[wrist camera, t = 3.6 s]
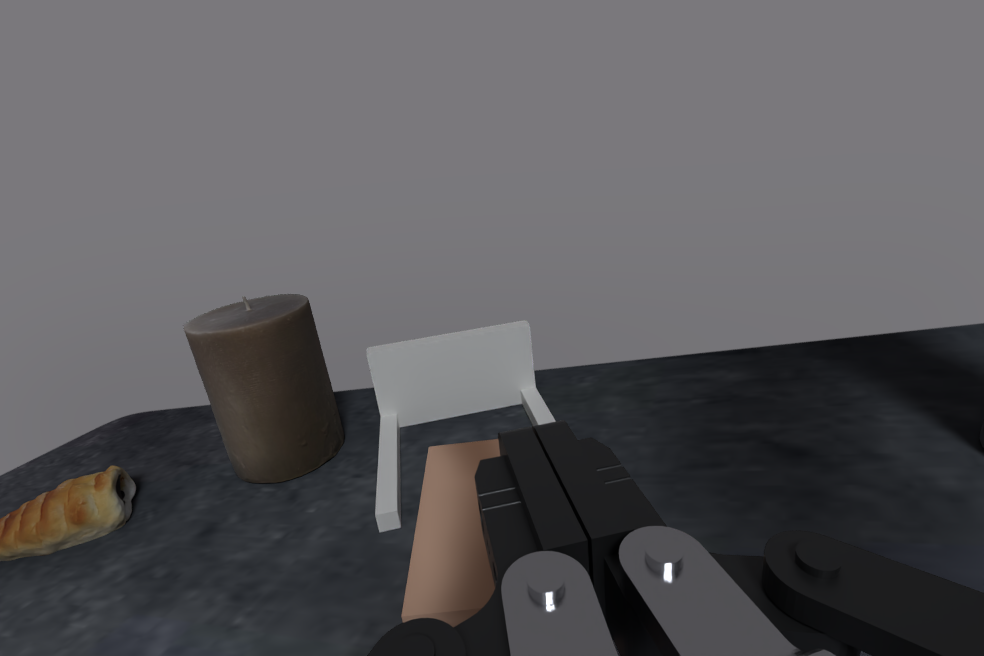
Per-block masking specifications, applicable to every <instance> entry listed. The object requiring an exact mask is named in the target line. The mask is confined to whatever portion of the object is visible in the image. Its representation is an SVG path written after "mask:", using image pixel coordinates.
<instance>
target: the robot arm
mask: <svg viewBox="0 0 984 656" xmlns="http://www.w3.org/2000/svg"><path fill="white" fill-rule="evenodd" d="M979 440H980V442H981V444H982V447H983V448H984V421H983V425H982V428H981V432H980V438H979ZM498 441H499V450H500V456H498V457H493V458H488V459H483V460H480V462H479V465H478V468H477V470H476V473H475V476H474V478H475V485H476V492H477V499H478V505H479V512H480V519H481V526H482V533H483V537H484V542H485V546H486V550H487V554H488V559H489V563H490V568H491V572H492V576H493V581H494V585H495V590H494V592H493V594H492V596H491V598H490V599H489V601H488V602H487V603H486V604H485V606H484V607H483V608H482V609H481V610H479V611H478V612H477V613H476V614H474V615H473V616H471V617H470V618H468V619H467V620H465V621H463V622H462V623H460V624H458V625H457V626H455V627H452V626H451V625H450V624H448V623H446V622H444V621H442V620H438V619H434V618H417V619H412V620H409V621H406V622H403V623H402V624H400V625H398V626H396V627H394V628H393V629H391V630H390V631H388V632H387V633H386V634H385V635H384V636H383V637H382V638H381V639H380V640H379V641H378V642H377V644H376V645H375V646H374V647H373V649H372V650H371V651H370V653H369V654H368V655H367V656H618V654H617V651H616V649H615V646H614V643H613V640H614V642H615V644H616V646H617V648H618V651H619V653H620V655H621V656H860V652H861V651H863V652H865V653H867V654H870V655H872V656H984V593H982V592H980V591H977V590H974V589H971V588H969V587H966V586H963V585H960V584H957V583H955V582H952V581H949V580H946V579H944V578H941V577H938V576H935V575H932V574H930V573H927V572H924V571H921V570H919V569H916V568H913V567H910V566H908V565H905V564H902V563H899V562H896V561H894V560H891V559H888V558H885V557H883V556H880V555H877V554H874V553H872V552H869V551H866V550H863V549H860V548H858V547H855V546H852V545H849V544H847V543H844V542H841V541H838V540H835V539H833V538H830V537H827V536H824V535H821V534H818V533H813V532H808V531H785V532H782V533H778V534H776V535H774V536H773V537H772V538H770V539H769V540H768V542H767V544H766V546H765V551H764V557H763V556H739V555H722V554H715V553H710V552H707V550H706V549H705V548H704V547H703V546H702V545H701V544H700V543H699V542H698V541H697V540H695V539H694V538H693V537H691V536H690V535H688V534H686V533H684V532H682V531H679V530H677V529H674V528H670V527H667V526H666V524H665V523H664V522H663V520H662V519H661V518H660V516H659V515H658V513H657V512H656V511H655V509H654V508H653V507H652V505H651V504H650V503H649V501H648V500H647V498H646V497H645V496H644V494H643V493H642V492H641V490H640V489H639V487H638V486H637V485H636V483H635V482H634V481H633V479H631V478H630V475H629V474H628V472H627V471H626V470H625V468H624V467H622V466H621V463H620V461H619V460H618V459H617V457H616V456H615V455H614V453H613V452H612V451H611V449H610V448H608V447H607V446H605V445H603V444H602V443H600V442H598V441H597V440H595V439H593V438H587V439H582V440H577V439H576V437H575V435H574V434H573V432H572V431H571V429H570V428H569V426H568V424H567V423H566V422H565V421H564V420H561V421H556V422H551V423H546V424H541V425H536V426H532V428H531V427H526V428H521V429H516V430H511V431H506V432H501V433H498Z"/></svg>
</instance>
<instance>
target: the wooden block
mask: <svg viewBox="0 0 984 656" xmlns="http://www.w3.org/2000/svg"><path fill="white" fill-rule="evenodd" d="M498 456H500V450H499V441H498V439H495V440H486V441H477V442H468V443H459V444H450V445H441V446H433V447H429V450H428V456H427V462H426V469H425V475H424V481H423V487H422V493H421V499H420V506H419V512H418V518H417V524H416V530H415V536H414V543H413V549H412V555H411V561H410V567H409V574H408V580H407V586H406V592H405V598H404V604H403V611H402V620H403V622H406V621H409V620H412V619H417V618H434V619H438V620H442V621H444V622H446V623H448V624H450V625H451V626H452V627H455V626H457V625H458V624H460V623H462V622H463V621H465V620H467V619H468V618H470V617H471V616H473V615H474V614H476V613H477V612H478V611H479V610H481V609H482V608H483V607H484V606H485V604H486V603H487V602H488V601H489V599H490V598H491V596H492V594H493V592H494V590H495V585H494V581H493V576H492V572H491V568H490V563H489V559H488V554H487V550H486V546H485V542H484V537H483V533H482V526H481V519H480V512H479V505H478V499H477V492H476V485H475V478H474V476H475V473H476V470H477V468H478V465H479V462H480V460H483V459H488V458H493V457H498Z"/></svg>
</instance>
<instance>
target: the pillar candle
mask: <svg viewBox="0 0 984 656" xmlns="http://www.w3.org/2000/svg"><path fill="white" fill-rule="evenodd" d="M242 298H243V300H244V301H243V302H239V303H235V304H230V305H227V306H224V307H221V308H217V309H215V310H212V311H210V312H208V313H204V314H202V315H200V316H198V317H196V318H194V319H193V320H191V321H189V322H187V323H185V324H184V325H183V326H184V330H185V333H186V336H187V339H188V341H189V345H190V347H191V350H192V353H193V356H194V358H195V362H196V365H197V368H198V370H199V374H200V376H201V378H202V381H203V384H204V387H205V389H206V392H207V395H208V398H209V401H210V404H211V407H212V410H213V413H214V416H215V419H216V422H217V425H218V428H219V430H220V432H221V435H222V438H223V442H224V445H225V447H226V450H227V454H228V456H229V459H230V461H231V463H232V465H233V468H234V470H235V473H236V474H237V476H238V477H239V478H241V479H242V480H244V481H246V482H251V483H277V482H283V481H285V480H291V479H293V478H296V477H300V476H302V475H304V474H306V473H308V472H310V471H312V470H314V469H316V468H318V467H320V465H322V464H324V463H325V462H326V461H328V460H330V459H331V458H332V457H334V456H335V455H336V453H337V452H338V451H339V450H340V448H341V446H342V444H343V442H344V431H343V427H342V425H341V420H340V416H339V412H338V408H337V404H336V401H335V397H334V394H333V390H332V386H331V382H330V379H329V375H328V372H327V368H326V364H325V360H324V357H323V353H322V349H321V345H320V341H319V337H318V334H317V330H316V326H315V322H314V318H313V315H312V311H311V307H310V303H309V300H308V298H307V297H305V296H303V295H297V294H284V295H283V294H281V295H274V296H265V297H261V298H254V299H250V300H246V297H242Z"/></svg>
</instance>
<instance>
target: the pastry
mask: <svg viewBox="0 0 984 656" xmlns="http://www.w3.org/2000/svg"><path fill="white" fill-rule="evenodd" d="M135 491H136V485H135V483H134V481H133V480H132V479H131V478H130V476H129V475H128V474H127V473H126V472H125V471H124V470H123V469H122V468H120V467H117V466H110V467H109V468H108V469H107V471H105V472H99V473H96V474H92V475H87V476H82V477H79V478H77V479H69V480H67V481H65V482H63V483H62V484H60V485H59V486H58V487H57V488H56V489H55V490H53V491H49V492H46V493H43V494H41V495H39V496H38V497H37V498H36V499H34V500H32V501H28V502H26V503H24V504H23V505H22V506H21V507H20V508H19V509H18V510H15V511H13V512H11V513H9V514H8V515H7V516H5V517H3V518H1V519H0V561H10V560H14V559H17V558H21V557H31V556H43V555H49V554H52V553H54V552H55V551H58V550H61V549H65V548H68V547H71V546H74V545H77V544H80V543H84V542H87V541H90V540H93V539H95V538H98V537H101V536H104V535H106V534H108V533H110V532H113V531H115V530H117V529H119V528H120V527H122V526H123V525H124V524H125V523H126V521H127V520H128V519H129V518H130V515H131V512H132V509H131V508H132V504H131V500H132V498H133V496H134V494H135Z"/></svg>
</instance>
